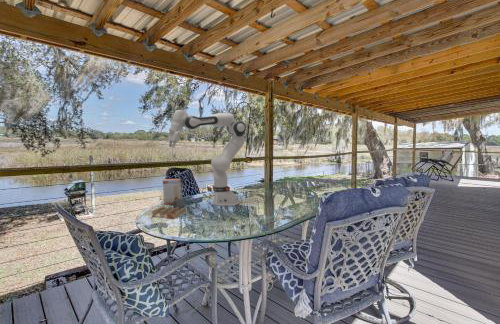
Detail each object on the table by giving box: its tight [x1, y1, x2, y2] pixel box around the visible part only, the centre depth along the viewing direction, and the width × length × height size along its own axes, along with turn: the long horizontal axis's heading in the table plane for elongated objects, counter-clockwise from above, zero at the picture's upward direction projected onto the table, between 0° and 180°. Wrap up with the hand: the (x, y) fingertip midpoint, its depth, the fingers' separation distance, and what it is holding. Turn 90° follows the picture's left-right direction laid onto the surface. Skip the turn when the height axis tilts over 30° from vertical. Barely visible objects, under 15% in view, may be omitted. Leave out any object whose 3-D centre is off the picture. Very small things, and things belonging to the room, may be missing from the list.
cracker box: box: [162, 178, 183, 205], centre depth 236 cm, size 14×6×21 cm, turn 84°
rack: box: [151, 205, 188, 220], centre depth 203 cm, size 19×17×4 cm
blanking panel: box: [172, 197, 186, 210], centre depth 221 cm, size 3×12×7 cm, turn 163°
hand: (171, 147), depth 215 cm, fingers open, 8 cm apart
